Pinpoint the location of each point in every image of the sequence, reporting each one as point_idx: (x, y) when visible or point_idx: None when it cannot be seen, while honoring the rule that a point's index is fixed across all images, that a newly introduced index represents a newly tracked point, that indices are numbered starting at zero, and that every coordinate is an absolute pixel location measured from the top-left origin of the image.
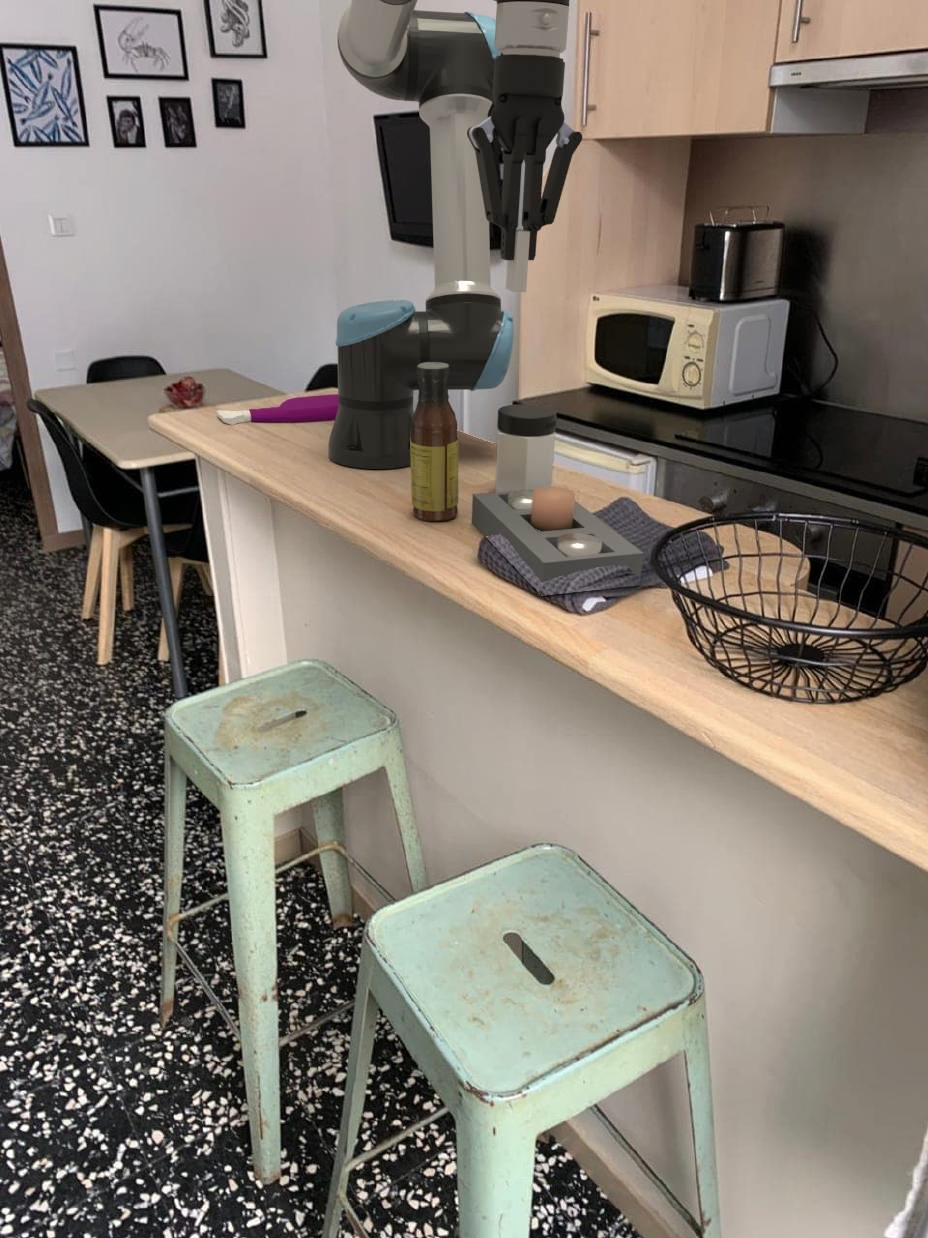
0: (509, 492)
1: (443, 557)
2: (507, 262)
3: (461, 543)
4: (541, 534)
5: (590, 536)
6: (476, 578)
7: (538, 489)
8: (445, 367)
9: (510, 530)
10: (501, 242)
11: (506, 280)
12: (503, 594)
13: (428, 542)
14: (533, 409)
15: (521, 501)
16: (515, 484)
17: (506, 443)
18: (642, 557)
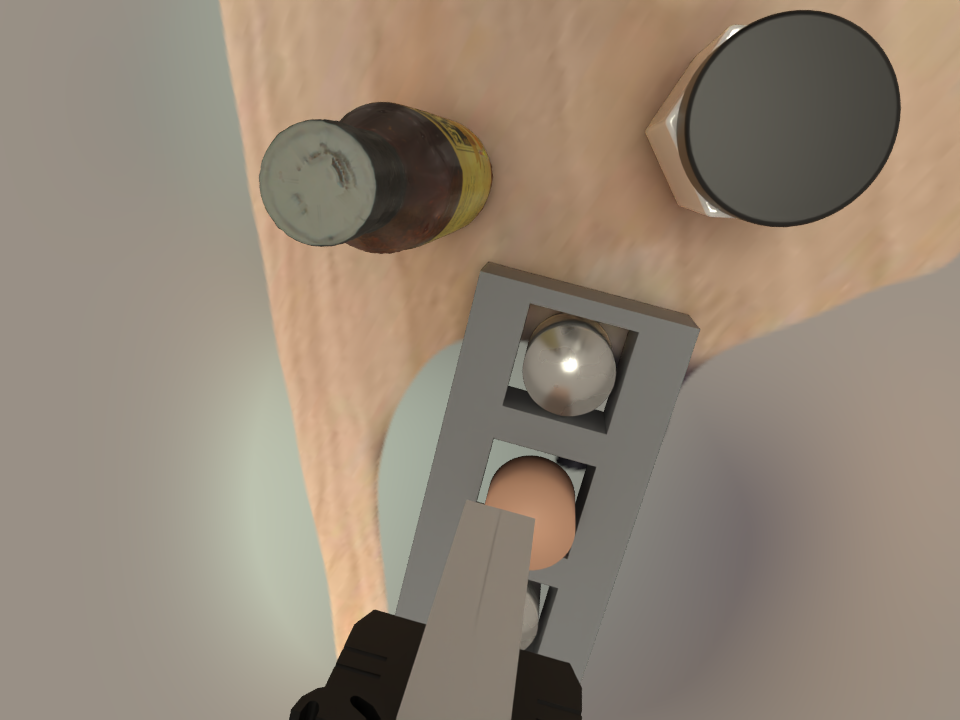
0: (566, 302)
1: (340, 394)
2: (442, 576)
3: (406, 351)
4: None
5: (530, 614)
6: (346, 499)
7: (513, 491)
8: (341, 240)
9: (424, 499)
10: (329, 681)
11: (459, 522)
12: (353, 570)
13: (350, 314)
14: (825, 115)
15: (536, 391)
16: (673, 183)
17: (673, 150)
18: None
